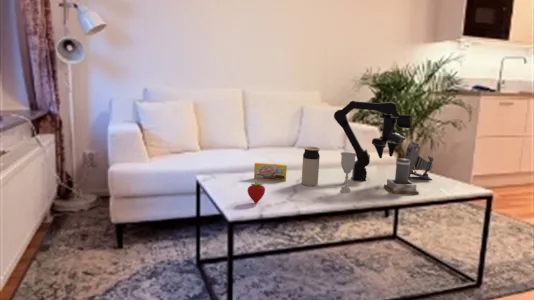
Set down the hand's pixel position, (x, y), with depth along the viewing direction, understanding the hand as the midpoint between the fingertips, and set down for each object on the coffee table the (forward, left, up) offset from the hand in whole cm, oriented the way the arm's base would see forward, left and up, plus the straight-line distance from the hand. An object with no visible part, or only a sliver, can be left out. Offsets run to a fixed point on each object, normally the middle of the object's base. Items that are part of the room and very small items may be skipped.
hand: (385, 157), depth 220 cm
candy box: (-59, -1, -13) cm, 60 cm away
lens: (+3, -16, -12) cm, 20 cm away
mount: (+3, -16, -13) cm, 21 cm away
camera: (+22, +12, -13) cm, 29 cm away
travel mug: (-40, -8, -13) cm, 43 cm away
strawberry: (-68, -41, -13) cm, 80 cm away
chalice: (-25, -20, -13) cm, 35 cm away
